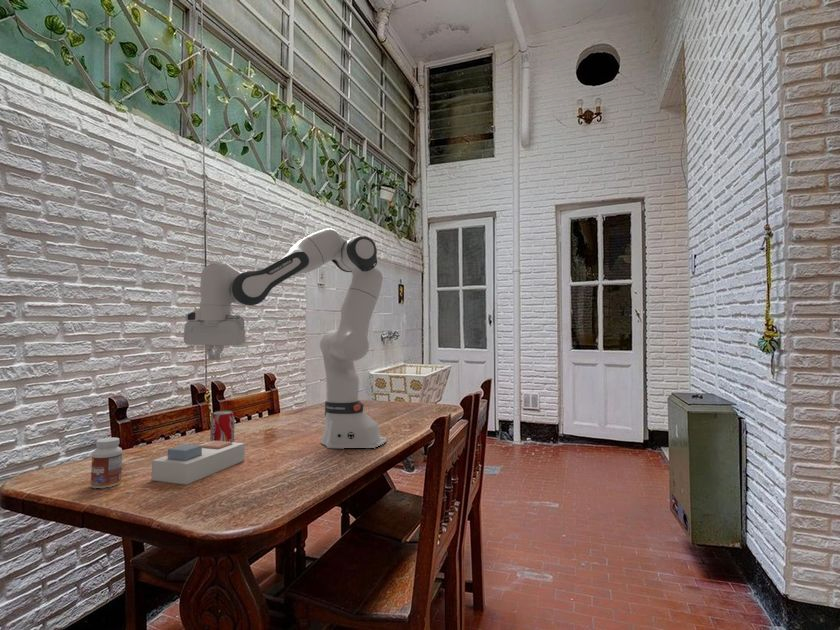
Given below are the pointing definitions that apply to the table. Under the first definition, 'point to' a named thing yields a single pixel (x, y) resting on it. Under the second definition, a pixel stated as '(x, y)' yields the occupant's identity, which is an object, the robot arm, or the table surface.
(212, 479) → the table surface
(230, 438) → the soda can
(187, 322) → the robot arm
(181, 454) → the slate key
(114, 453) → the pill bottle
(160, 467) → the key box
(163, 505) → the table surface
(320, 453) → the table surface
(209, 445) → the terracotta key
